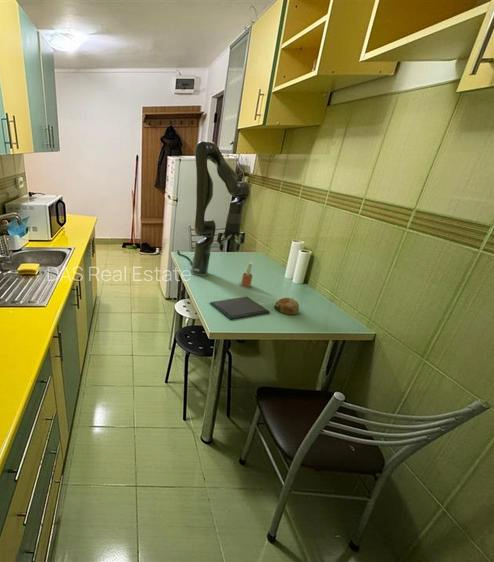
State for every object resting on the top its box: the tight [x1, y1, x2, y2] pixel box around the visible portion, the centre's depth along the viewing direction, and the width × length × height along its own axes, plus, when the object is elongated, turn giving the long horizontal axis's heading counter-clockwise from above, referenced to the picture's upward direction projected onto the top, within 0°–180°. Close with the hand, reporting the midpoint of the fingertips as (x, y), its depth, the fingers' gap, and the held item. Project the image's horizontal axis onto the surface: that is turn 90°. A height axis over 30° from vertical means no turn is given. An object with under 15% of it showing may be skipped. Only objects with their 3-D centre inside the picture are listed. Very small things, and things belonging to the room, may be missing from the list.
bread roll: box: [274, 297, 300, 316], centre depth 145 cm, size 10×10×8 cm
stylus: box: [245, 262, 253, 276], centre depth 169 cm, size 2×2×13 cm
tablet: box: [209, 296, 271, 320], centre depth 147 cm, size 16×22×1 cm
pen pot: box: [240, 272, 254, 288], centre depth 170 cm, size 5×5×7 cm
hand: (228, 250), depth 167 cm, fingers open, 8 cm apart
